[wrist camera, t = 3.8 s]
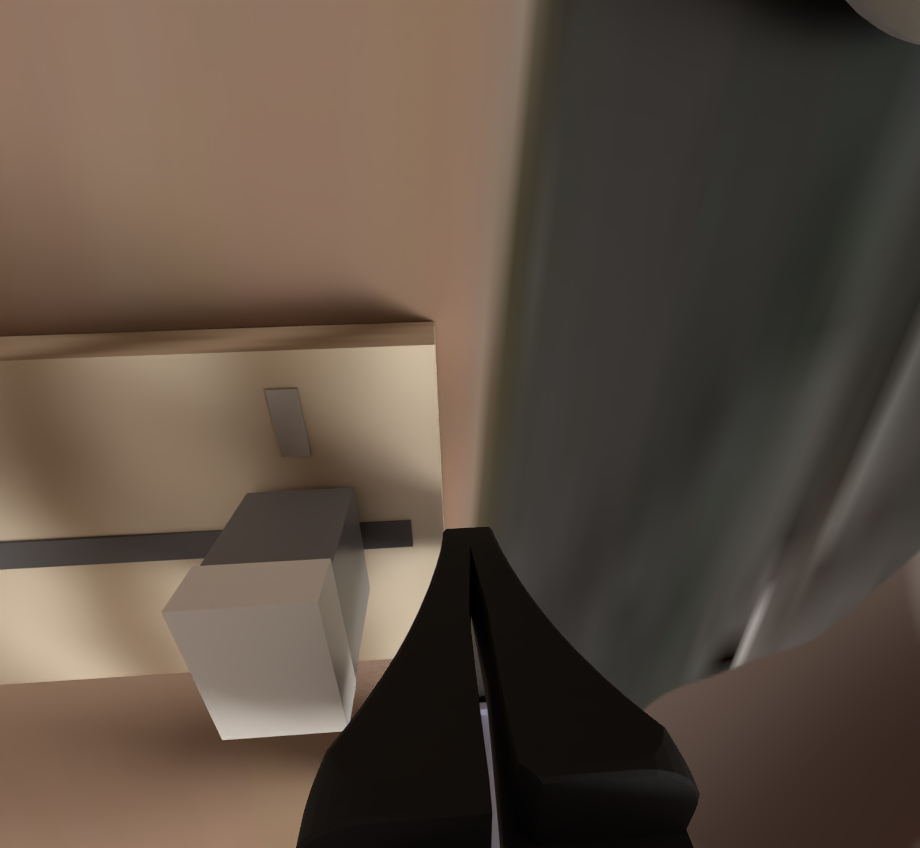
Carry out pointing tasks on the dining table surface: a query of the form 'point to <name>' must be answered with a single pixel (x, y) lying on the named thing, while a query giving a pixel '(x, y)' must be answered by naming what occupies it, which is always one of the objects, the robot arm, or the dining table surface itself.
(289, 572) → the fader
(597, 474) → the dining table surface
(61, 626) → the console
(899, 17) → the teacup
